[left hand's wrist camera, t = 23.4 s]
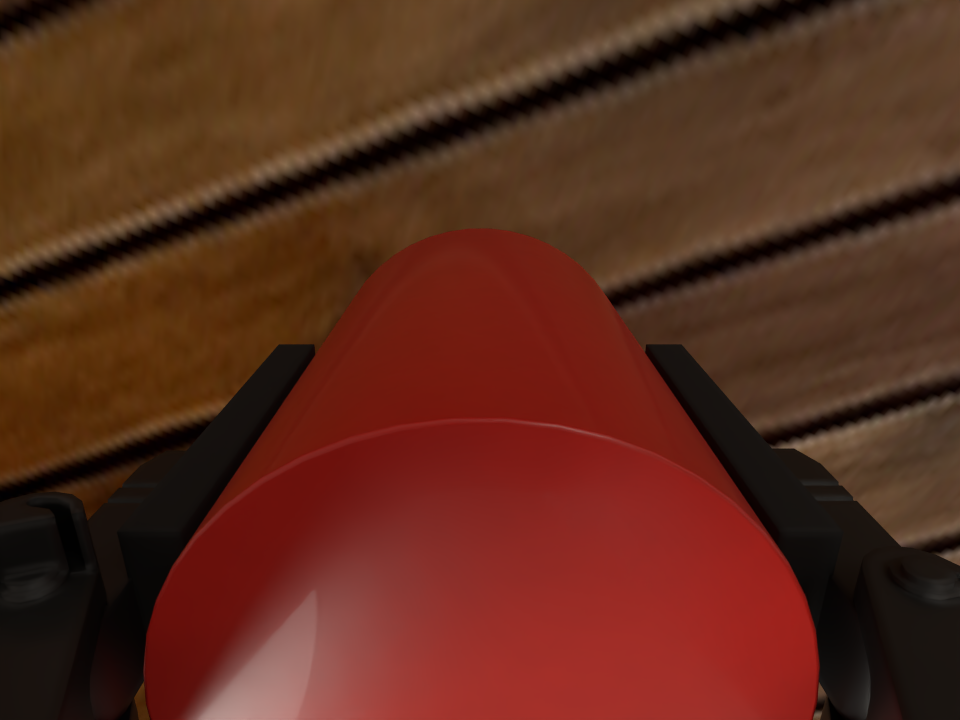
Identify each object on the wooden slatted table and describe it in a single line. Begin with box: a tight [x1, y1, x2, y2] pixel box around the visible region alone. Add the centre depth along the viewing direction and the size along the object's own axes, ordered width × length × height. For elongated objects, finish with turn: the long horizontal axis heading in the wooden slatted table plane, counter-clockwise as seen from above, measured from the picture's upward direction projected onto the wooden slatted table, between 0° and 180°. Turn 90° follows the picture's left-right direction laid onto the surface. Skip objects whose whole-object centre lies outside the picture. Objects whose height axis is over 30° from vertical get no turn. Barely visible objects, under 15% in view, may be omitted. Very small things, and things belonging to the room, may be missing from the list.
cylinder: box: [143, 229, 820, 720], centre depth 11 cm, size 7×7×10 cm
